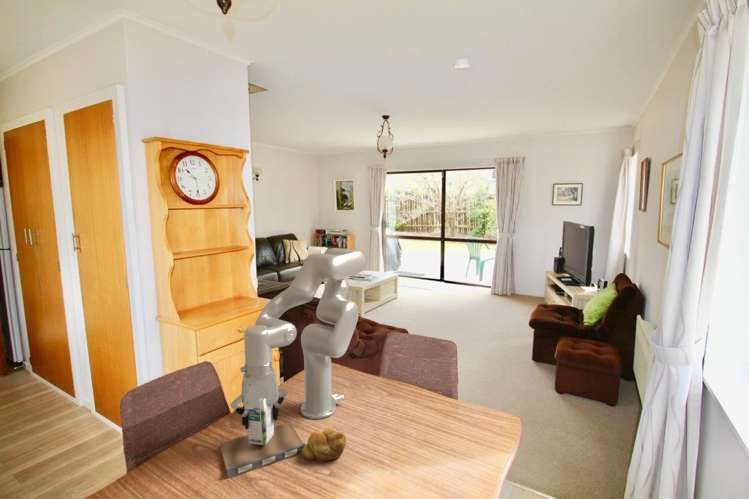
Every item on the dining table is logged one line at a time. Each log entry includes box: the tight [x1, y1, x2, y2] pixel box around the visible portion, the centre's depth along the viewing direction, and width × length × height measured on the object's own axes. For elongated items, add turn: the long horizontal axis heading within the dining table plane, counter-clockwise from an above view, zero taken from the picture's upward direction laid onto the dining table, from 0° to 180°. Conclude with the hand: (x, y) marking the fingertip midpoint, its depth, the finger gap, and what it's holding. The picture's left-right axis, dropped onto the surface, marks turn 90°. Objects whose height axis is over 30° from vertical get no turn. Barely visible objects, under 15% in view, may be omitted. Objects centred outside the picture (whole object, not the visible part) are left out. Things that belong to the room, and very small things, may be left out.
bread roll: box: [301, 427, 347, 462], centre depth 112 cm, size 13×10×8 cm
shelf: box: [219, 421, 306, 479], centre depth 114 cm, size 22×15×2 cm
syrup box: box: [247, 398, 275, 445], centre depth 114 cm, size 6×6×14 cm
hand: (260, 422), depth 114 cm, fingers open, 8 cm apart
